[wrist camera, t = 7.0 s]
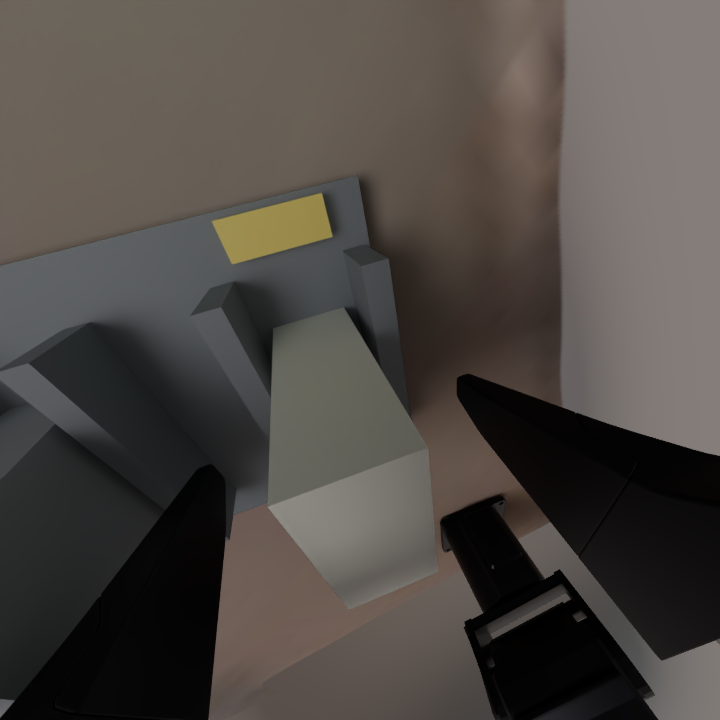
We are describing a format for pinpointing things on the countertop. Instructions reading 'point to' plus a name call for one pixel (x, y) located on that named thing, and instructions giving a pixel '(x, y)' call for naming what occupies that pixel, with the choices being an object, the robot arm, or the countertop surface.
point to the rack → (155, 386)
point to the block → (347, 462)
